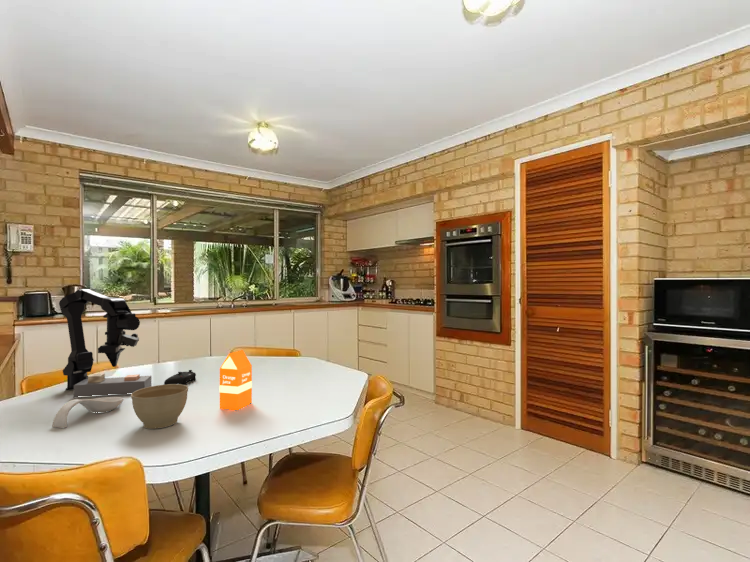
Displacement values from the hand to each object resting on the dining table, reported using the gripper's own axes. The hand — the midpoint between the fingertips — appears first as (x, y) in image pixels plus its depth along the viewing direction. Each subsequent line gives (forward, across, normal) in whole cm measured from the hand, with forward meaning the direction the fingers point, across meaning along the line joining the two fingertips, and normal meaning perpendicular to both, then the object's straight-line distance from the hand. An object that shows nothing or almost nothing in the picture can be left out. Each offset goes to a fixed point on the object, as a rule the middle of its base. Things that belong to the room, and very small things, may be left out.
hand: (114, 366), depth 165 cm
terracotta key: (+8, 0, -7) cm, 11 cm away
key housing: (+11, 0, 0) cm, 11 cm away
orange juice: (+10, -34, -50) cm, 61 cm away
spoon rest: (+11, -31, -2) cm, 33 cm away
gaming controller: (+11, +10, -24) cm, 28 cm away
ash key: (+7, 0, +6) cm, 10 cm away
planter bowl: (+10, -47, -28) cm, 55 cm away
